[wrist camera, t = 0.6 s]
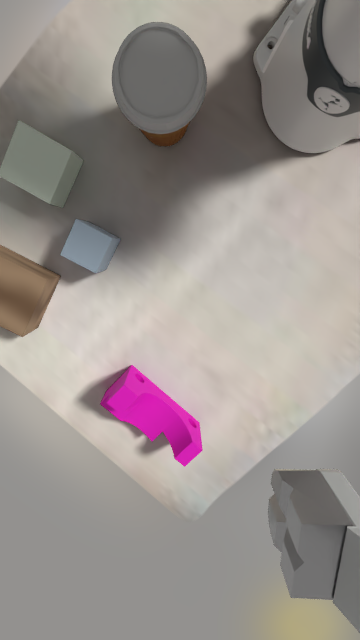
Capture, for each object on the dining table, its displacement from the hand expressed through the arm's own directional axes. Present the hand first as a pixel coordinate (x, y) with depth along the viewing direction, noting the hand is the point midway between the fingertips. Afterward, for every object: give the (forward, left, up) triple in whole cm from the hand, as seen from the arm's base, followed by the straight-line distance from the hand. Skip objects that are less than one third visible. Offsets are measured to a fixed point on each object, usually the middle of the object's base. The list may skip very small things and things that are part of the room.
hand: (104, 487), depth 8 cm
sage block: (-6, -21, -41) cm, 47 cm away
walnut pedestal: (+11, -20, -41) cm, 47 cm away
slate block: (0, -11, -41) cm, 43 cm away
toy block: (+19, +8, -41) cm, 46 cm away
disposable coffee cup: (-19, -10, -41) cm, 46 cm away
